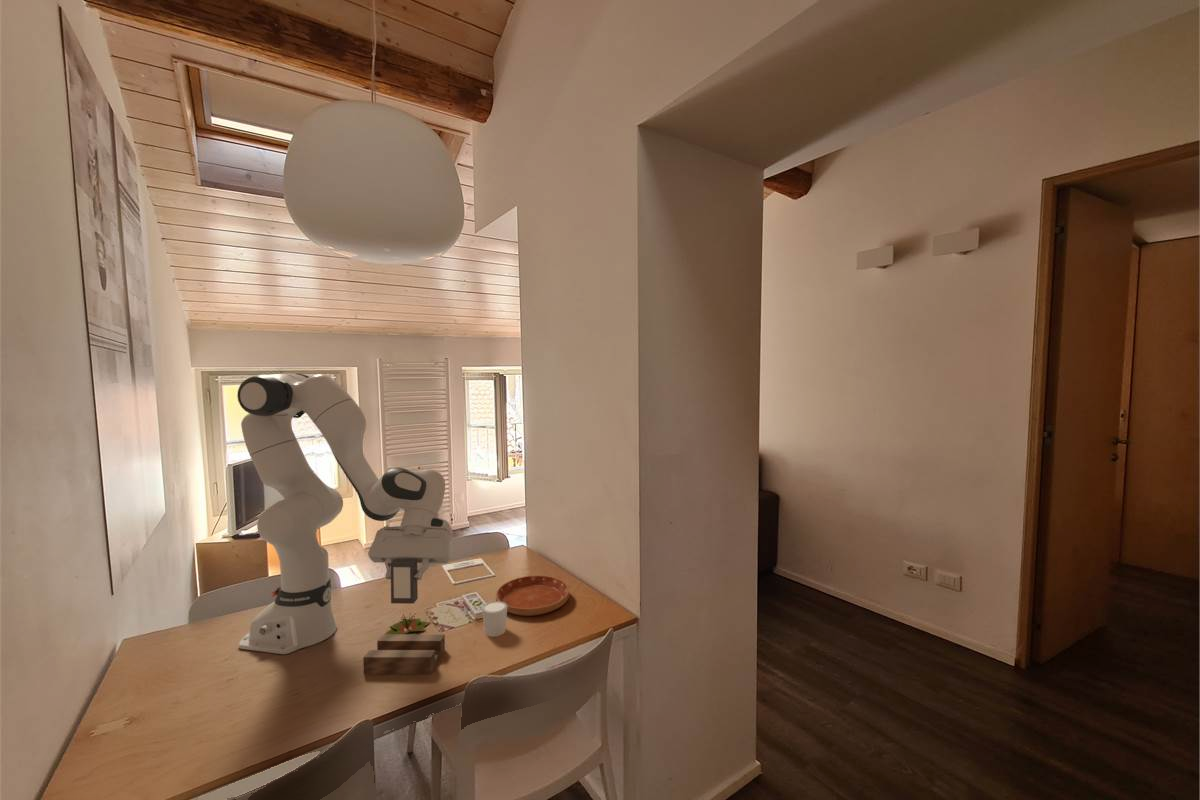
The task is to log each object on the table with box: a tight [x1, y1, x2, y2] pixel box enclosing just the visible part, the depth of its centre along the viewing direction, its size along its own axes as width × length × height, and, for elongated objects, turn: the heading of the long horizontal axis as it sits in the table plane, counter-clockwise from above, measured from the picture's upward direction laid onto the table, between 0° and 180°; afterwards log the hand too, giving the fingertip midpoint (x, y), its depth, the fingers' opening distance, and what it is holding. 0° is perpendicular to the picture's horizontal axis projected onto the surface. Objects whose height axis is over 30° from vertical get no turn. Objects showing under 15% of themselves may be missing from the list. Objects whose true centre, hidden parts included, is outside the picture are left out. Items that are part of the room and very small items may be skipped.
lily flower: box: [385, 612, 431, 635], centre depth 132 cm, size 12×12×5 cm
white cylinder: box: [481, 600, 508, 638], centre depth 131 cm, size 7×7×7 cm
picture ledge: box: [362, 633, 446, 675], centre depth 117 cm, size 16×10×4 cm, turn 90°
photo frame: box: [441, 557, 496, 586], centre depth 172 cm, size 15×1×18 cm
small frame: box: [390, 559, 419, 605], centre depth 116 cm, size 6×3×10 cm, turn 90°
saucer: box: [495, 575, 570, 617], centre depth 149 cm, size 23×23×4 cm
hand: (403, 578), depth 115 cm, fingers closed on small frame, 5 cm apart
